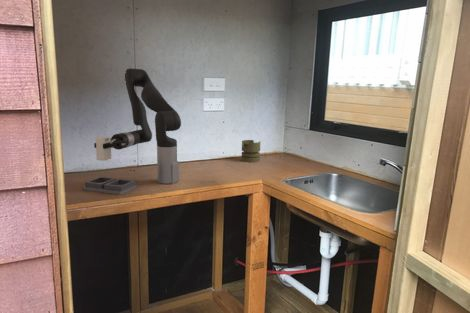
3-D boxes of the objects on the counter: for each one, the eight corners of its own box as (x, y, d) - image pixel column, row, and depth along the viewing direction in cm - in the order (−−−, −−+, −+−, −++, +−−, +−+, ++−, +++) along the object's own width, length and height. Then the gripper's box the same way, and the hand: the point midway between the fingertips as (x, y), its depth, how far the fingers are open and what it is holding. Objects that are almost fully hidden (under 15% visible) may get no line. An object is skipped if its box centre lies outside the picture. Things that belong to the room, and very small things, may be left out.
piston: (251, 139, 232) (264, 141, 224) (250, 158, 234) (263, 161, 226) (238, 141, 224) (251, 143, 216) (237, 160, 227) (250, 163, 219)
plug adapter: (111, 158, 168) (110, 137, 166) (104, 160, 163) (103, 138, 161) (103, 157, 169) (102, 136, 167) (96, 159, 164) (95, 137, 162)
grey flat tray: (136, 187, 164) (136, 180, 163) (120, 194, 153) (120, 187, 152) (101, 182, 170) (100, 176, 169) (83, 189, 159) (82, 182, 158)
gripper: (110, 131, 179) (85, 136, 163) (135, 133, 175) (112, 138, 159) (110, 146, 181) (86, 153, 165) (135, 149, 176) (113, 155, 161)
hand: (99, 146), depth 162 cm, fingers closed on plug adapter, 4 cm apart
